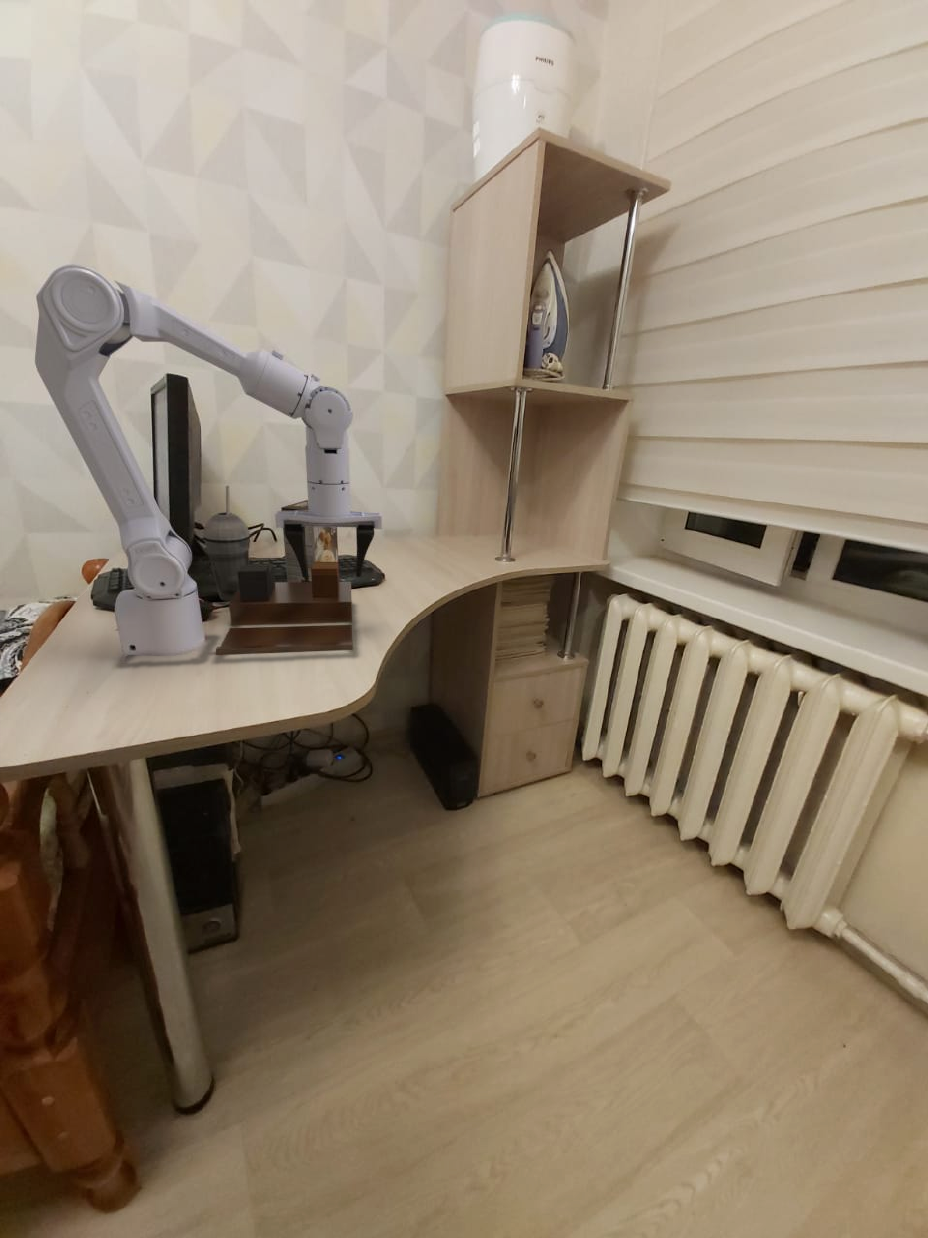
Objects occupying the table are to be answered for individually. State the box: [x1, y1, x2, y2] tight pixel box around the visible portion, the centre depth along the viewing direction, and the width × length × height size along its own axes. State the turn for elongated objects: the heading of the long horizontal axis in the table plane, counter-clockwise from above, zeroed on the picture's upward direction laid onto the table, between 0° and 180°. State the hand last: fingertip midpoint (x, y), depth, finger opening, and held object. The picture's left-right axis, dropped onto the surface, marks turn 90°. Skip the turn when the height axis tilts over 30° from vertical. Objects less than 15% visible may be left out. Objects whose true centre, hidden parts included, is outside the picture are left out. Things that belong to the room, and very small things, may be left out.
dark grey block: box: [237, 563, 276, 601], centre depth 79 cm, size 8×4×5 cm, turn 13°
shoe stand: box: [215, 581, 354, 656], centre depth 77 cm, size 18×20×4 cm
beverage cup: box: [202, 485, 252, 602], centre depth 84 cm, size 7×7×20 cm
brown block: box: [311, 561, 340, 597], centre depth 82 cm, size 8×4×5 cm, turn 13°
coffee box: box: [280, 499, 339, 582], centre depth 93 cm, size 9×6×16 cm
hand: (332, 575), depth 74 cm, fingers open, 7 cm apart
